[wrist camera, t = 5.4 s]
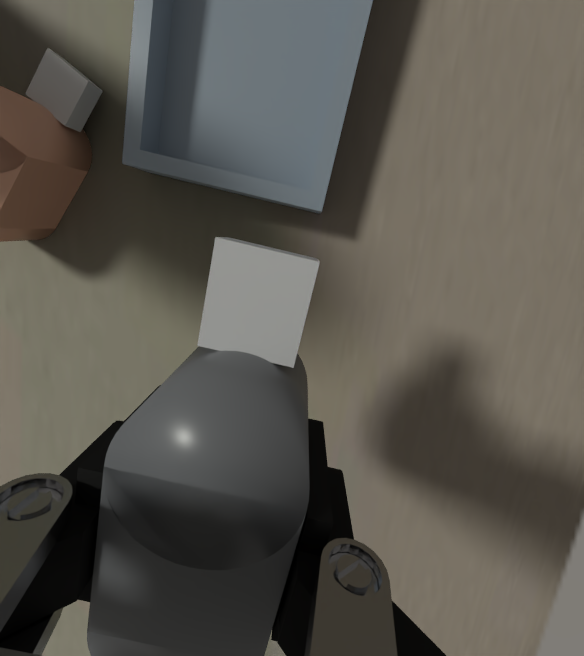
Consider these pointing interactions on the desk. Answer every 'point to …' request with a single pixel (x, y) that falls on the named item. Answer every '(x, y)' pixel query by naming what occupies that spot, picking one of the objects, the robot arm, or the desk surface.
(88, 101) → the terracotta plug
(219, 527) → the graphite plug
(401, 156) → the desk surface
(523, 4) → the desk surface
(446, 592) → the desk surface
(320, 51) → the tray
